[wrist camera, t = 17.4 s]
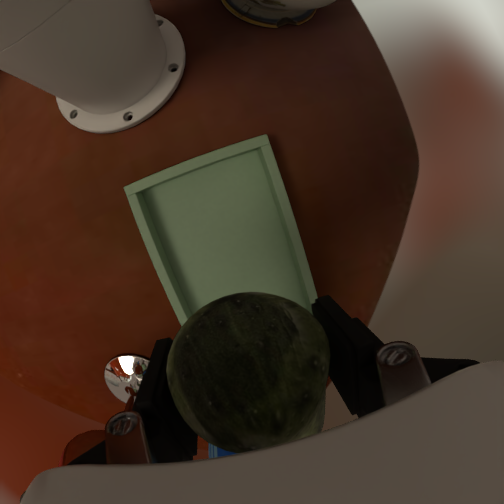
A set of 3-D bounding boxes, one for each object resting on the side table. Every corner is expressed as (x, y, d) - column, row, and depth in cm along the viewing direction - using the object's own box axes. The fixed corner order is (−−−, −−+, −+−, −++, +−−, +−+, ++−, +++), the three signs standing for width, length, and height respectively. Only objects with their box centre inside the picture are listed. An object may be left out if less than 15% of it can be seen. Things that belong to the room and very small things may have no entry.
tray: (132, 186, 22) (123, 187, 20) (261, 139, 23) (266, 133, 20) (207, 359, 27) (206, 374, 24) (318, 319, 27) (326, 331, 25)
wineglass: (172, 412, 28) (158, 570, 9) (108, 400, 27) (59, 542, 7) (172, 359, 26) (144, 550, 7) (100, 346, 25) (17, 505, 6)
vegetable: (371, 301, 7) (228, 236, 9) (229, 480, 4) (107, 347, 7) (339, 418, 16) (282, 382, 19) (291, 477, 14) (234, 435, 17)
